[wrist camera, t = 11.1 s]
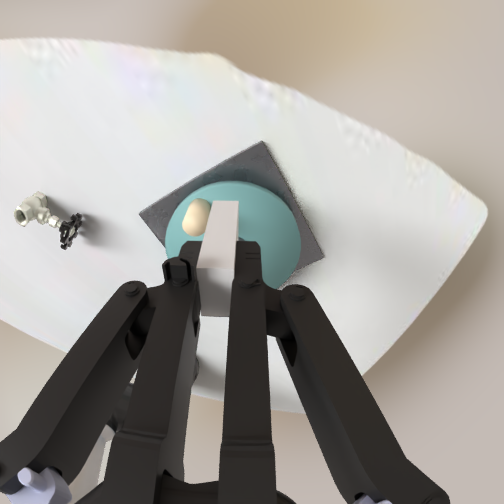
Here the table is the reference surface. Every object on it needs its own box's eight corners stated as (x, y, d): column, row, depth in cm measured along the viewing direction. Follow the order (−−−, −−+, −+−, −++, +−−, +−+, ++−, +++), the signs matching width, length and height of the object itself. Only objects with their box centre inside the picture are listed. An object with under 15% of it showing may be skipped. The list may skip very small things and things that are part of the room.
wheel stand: (322, 254, 50) (325, 264, 48) (214, 302, 56) (212, 312, 54) (261, 140, 40) (262, 144, 37) (140, 212, 45) (134, 219, 43)
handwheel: (319, 260, 47) (329, 288, 41) (217, 309, 53) (214, 338, 47) (255, 153, 38) (256, 169, 32) (142, 225, 43) (127, 250, 37)
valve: (30, 210, 44) (78, 237, 48) (11, 227, 39) (62, 257, 42) (35, 180, 41) (86, 208, 45) (14, 196, 36) (68, 227, 39)
